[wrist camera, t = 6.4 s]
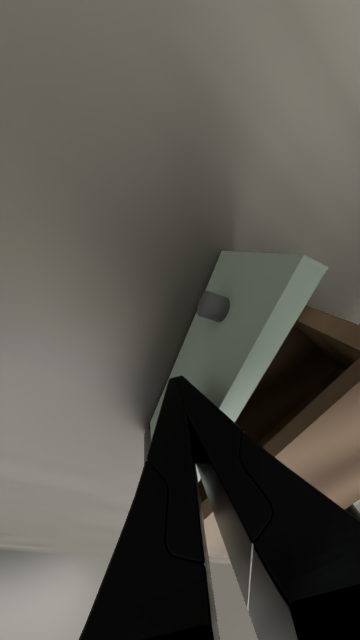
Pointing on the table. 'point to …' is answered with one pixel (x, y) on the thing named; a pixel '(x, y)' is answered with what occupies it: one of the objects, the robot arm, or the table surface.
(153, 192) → the table surface
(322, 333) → the cabinet
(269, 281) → the door
